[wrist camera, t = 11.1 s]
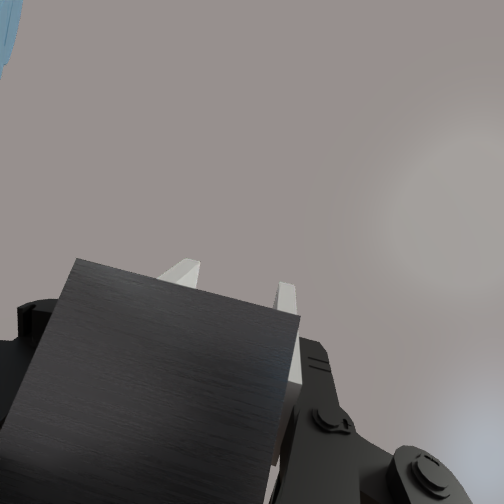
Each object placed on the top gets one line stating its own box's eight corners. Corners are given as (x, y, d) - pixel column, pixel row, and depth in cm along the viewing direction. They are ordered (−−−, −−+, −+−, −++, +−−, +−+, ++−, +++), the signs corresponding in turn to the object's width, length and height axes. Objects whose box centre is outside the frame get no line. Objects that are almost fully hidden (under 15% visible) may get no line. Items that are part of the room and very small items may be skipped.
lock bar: (356, 675, 3) (399, 279, 4) (-139, 499, 4) (25, 189, 5) (266, 362, 28) (276, 315, 30) (204, 345, 29) (216, 300, 30)
